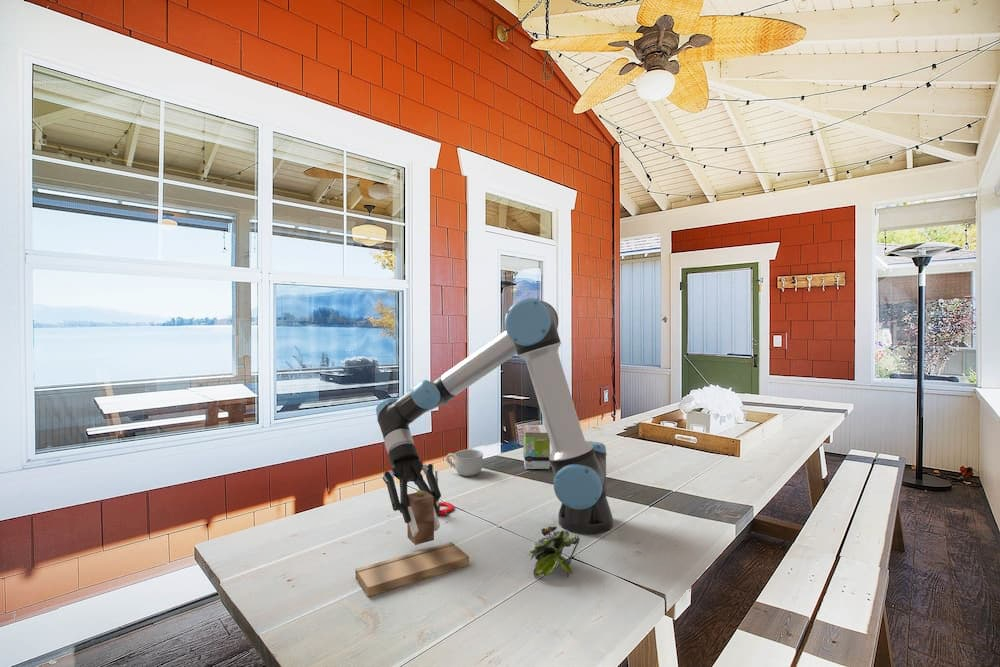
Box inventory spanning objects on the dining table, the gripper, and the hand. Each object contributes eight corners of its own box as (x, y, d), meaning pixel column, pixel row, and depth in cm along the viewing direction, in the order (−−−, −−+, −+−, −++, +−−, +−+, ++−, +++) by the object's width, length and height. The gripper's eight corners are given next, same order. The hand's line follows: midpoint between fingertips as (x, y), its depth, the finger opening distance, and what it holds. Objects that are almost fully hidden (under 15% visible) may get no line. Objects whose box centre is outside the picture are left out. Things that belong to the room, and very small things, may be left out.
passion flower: (549, 585, 114) (564, 534, 120) (582, 597, 106) (596, 541, 111) (514, 568, 110) (532, 516, 115) (546, 579, 101) (563, 522, 107)
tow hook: (430, 505, 153) (421, 515, 144) (430, 463, 153) (421, 471, 144) (456, 506, 151) (448, 516, 142) (456, 465, 152) (449, 472, 143)
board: (451, 550, 121) (451, 541, 121) (469, 564, 113) (469, 556, 113) (355, 577, 108) (355, 568, 108) (368, 596, 101) (367, 586, 100)
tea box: (550, 470, 186) (550, 432, 186) (524, 470, 187) (524, 432, 186) (547, 459, 201) (547, 423, 201) (523, 459, 202) (522, 424, 201)
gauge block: (425, 532, 125) (425, 486, 125) (434, 540, 121) (433, 492, 121) (407, 537, 122) (407, 490, 122) (415, 545, 118) (414, 496, 118)
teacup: (487, 471, 186) (487, 450, 186) (476, 479, 176) (476, 457, 175) (454, 467, 190) (453, 447, 190) (442, 476, 180) (441, 454, 180)
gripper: (428, 452, 139) (454, 529, 126) (365, 462, 129) (387, 547, 116) (435, 437, 134) (464, 516, 121) (371, 446, 125) (394, 533, 111)
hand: (426, 531), depth 118 cm, fingers closed on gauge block, 5 cm apart
